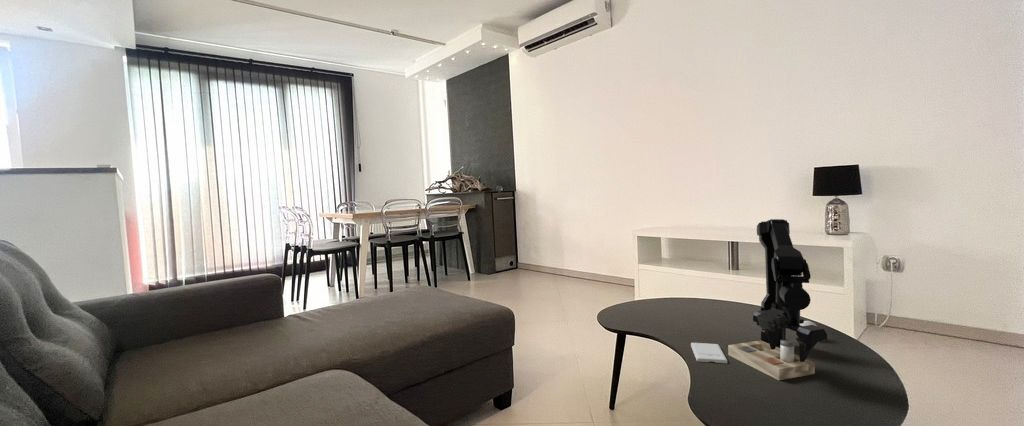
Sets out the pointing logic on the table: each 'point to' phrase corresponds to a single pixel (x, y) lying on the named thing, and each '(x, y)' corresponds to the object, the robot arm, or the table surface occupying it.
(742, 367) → the table surface
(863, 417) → the table surface
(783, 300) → the robot arm
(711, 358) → the external hard drive
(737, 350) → the socket block
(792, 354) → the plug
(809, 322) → the white egg
